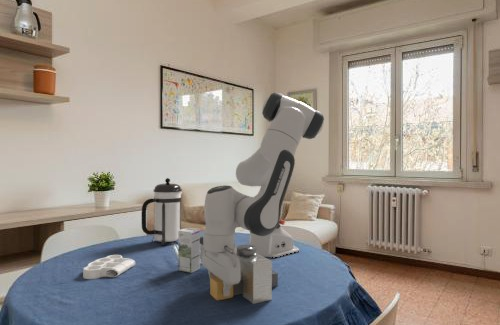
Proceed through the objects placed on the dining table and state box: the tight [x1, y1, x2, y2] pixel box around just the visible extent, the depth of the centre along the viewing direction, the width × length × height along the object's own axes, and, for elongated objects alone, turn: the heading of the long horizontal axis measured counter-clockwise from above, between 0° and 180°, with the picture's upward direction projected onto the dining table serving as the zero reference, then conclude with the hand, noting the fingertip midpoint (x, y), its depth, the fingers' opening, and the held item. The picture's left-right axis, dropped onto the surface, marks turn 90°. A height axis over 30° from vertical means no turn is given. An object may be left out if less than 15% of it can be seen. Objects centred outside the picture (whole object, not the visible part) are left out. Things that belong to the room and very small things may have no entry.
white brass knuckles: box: [82, 254, 136, 280], centre depth 122 cm, size 3×18×15 cm
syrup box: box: [177, 227, 201, 274], centre depth 123 cm, size 6×6×14 cm
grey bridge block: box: [234, 244, 273, 305], centre depth 105 cm, size 6×19×13 cm, turn 29°
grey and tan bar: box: [209, 270, 279, 301], centre depth 104 cm, size 21×5×5 cm, turn 119°
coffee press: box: [141, 177, 183, 247], centre depth 161 cm, size 17×16×30 cm
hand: (219, 290), depth 100 cm, fingers open, 7 cm apart
